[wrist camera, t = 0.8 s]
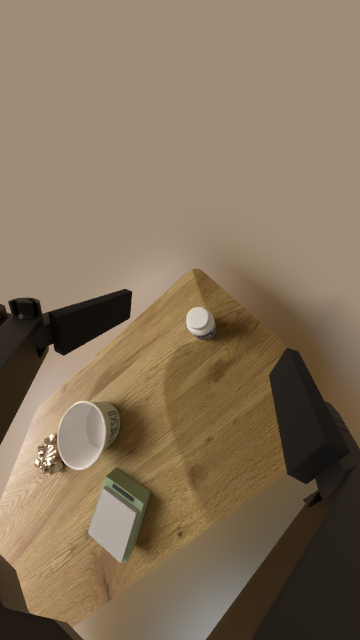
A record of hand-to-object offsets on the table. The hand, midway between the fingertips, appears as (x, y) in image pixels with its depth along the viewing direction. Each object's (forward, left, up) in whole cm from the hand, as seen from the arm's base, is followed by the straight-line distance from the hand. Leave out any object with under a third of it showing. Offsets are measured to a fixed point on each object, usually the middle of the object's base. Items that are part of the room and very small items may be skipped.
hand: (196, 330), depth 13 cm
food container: (+21, +24, -24) cm, 40 cm away
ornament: (+31, +35, -24) cm, 52 cm away
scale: (+10, +34, -24) cm, 43 cm away
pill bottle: (+4, -4, -24) cm, 25 cm away
